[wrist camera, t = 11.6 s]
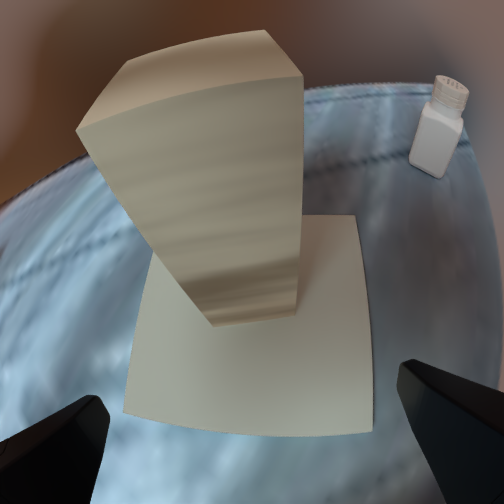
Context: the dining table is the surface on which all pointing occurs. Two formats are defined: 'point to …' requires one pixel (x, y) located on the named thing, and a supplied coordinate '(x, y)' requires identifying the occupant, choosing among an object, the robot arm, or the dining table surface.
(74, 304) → the dining table surface
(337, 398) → the sage mat
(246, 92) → the birch block
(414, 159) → the pepper shaker
